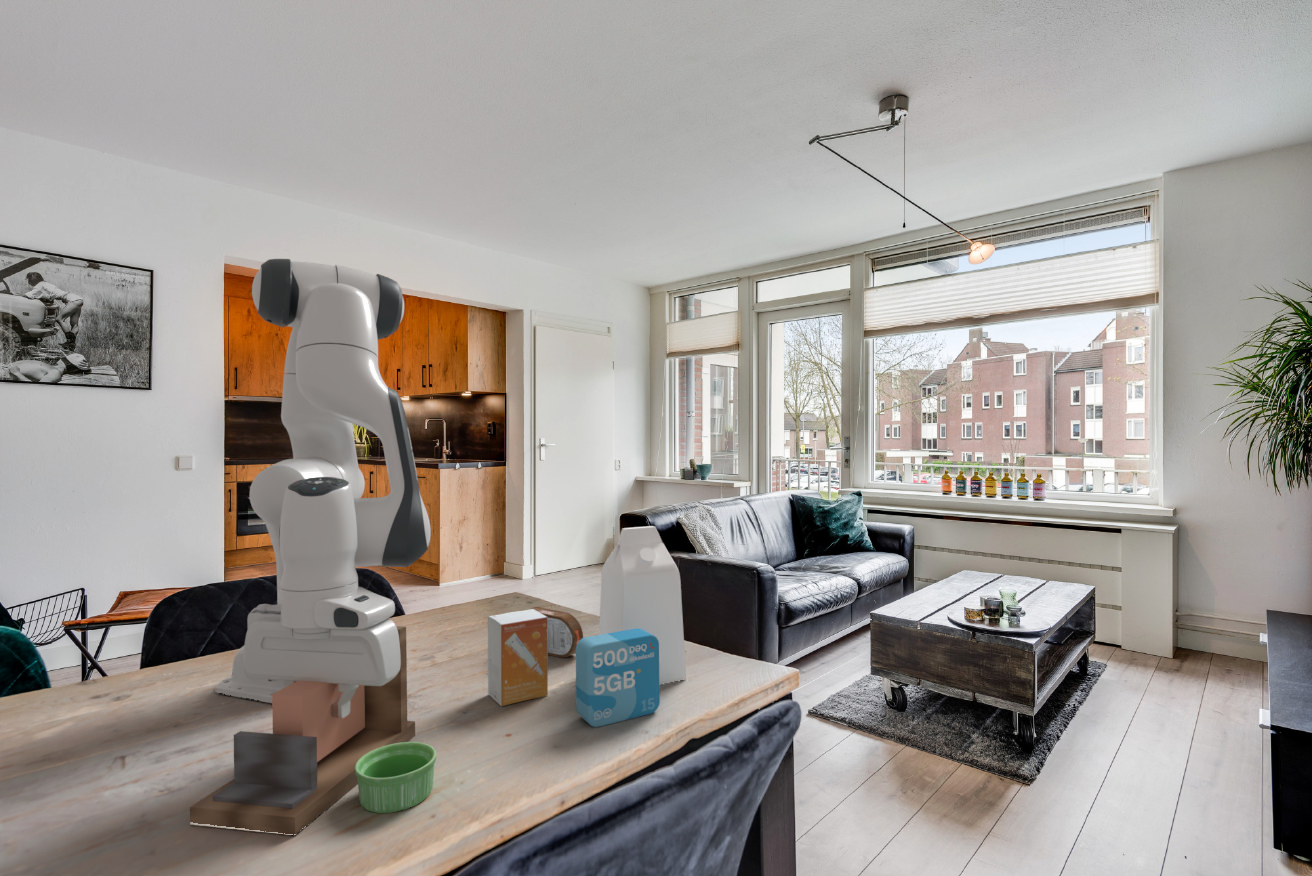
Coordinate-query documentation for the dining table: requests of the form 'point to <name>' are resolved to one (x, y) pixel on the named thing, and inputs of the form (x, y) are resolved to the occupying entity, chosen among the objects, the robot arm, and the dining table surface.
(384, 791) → the ramekin
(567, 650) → the tin
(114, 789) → the dining table surface
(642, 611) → the milk
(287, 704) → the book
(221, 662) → the dining table surface
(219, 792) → the shelf stand
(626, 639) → the data package
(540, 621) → the small box
